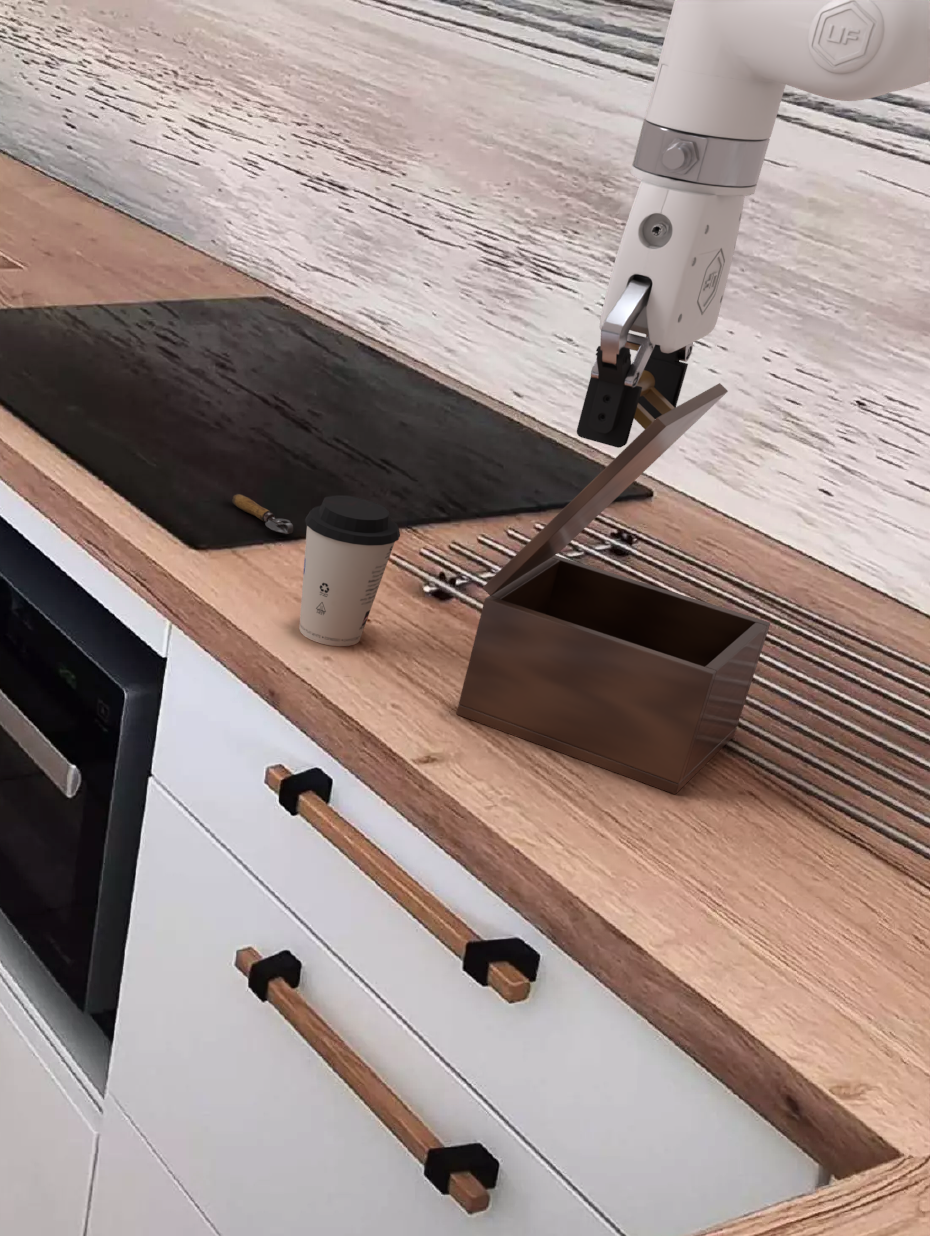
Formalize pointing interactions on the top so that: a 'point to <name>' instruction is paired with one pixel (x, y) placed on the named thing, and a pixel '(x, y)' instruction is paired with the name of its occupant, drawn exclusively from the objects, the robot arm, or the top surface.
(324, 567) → the coffee cup
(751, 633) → the box
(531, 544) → the caddy lid
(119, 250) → the top surface
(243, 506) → the can opener
